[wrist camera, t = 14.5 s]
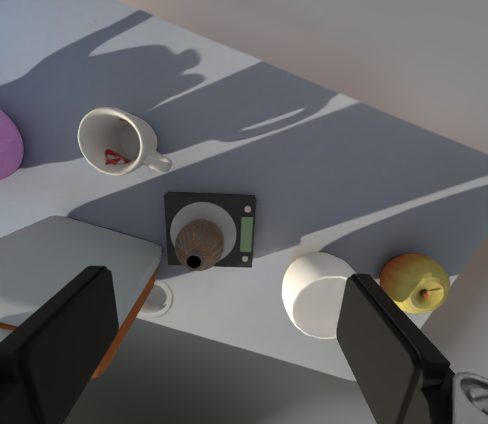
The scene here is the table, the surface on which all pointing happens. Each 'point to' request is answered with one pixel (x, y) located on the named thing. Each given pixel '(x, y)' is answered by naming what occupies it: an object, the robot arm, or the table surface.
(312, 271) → the cup
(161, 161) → the cup
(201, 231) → the vase
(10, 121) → the teapot
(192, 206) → the scale
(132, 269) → the alarm clock
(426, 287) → the apple
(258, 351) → the table surface
